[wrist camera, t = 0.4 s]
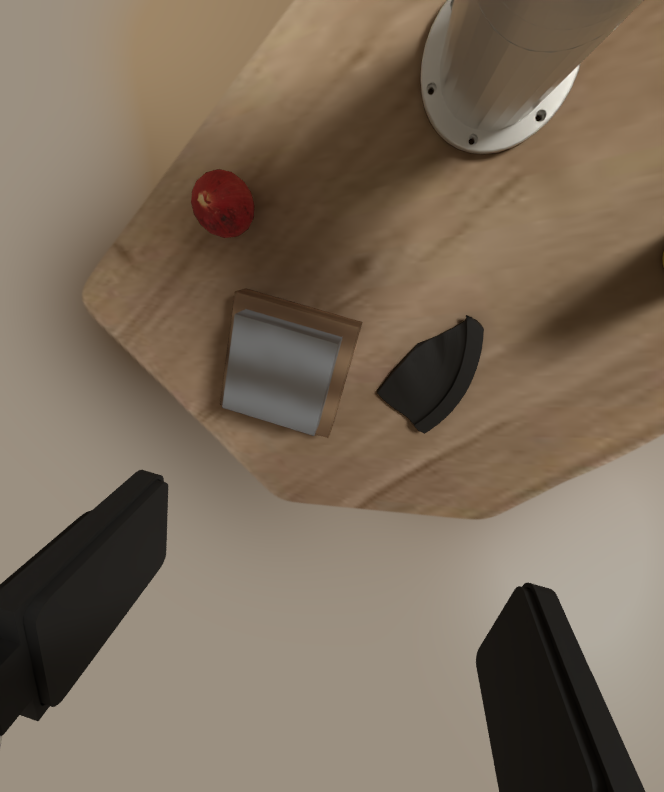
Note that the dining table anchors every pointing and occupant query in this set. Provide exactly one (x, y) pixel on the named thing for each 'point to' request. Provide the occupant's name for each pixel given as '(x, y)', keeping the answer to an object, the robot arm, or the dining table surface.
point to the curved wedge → (435, 375)
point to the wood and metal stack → (287, 362)
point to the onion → (222, 203)
